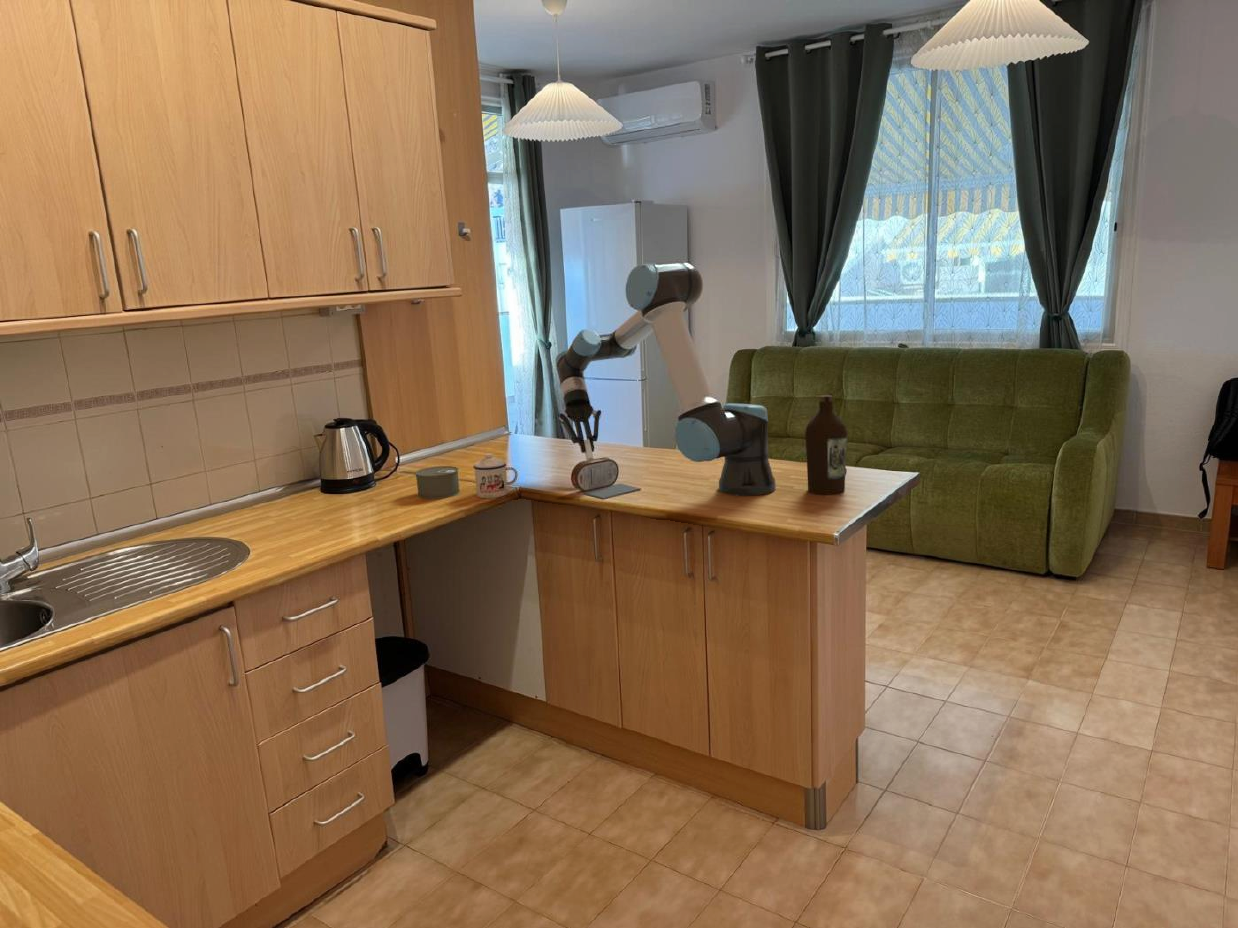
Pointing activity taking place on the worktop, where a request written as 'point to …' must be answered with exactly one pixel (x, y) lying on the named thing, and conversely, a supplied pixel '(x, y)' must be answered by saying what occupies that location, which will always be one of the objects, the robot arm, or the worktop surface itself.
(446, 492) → the can
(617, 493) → the mat
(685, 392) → the robot arm
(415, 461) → the worktop surface
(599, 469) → the tin
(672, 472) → the worktop surface
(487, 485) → the teacup with lid
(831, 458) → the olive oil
